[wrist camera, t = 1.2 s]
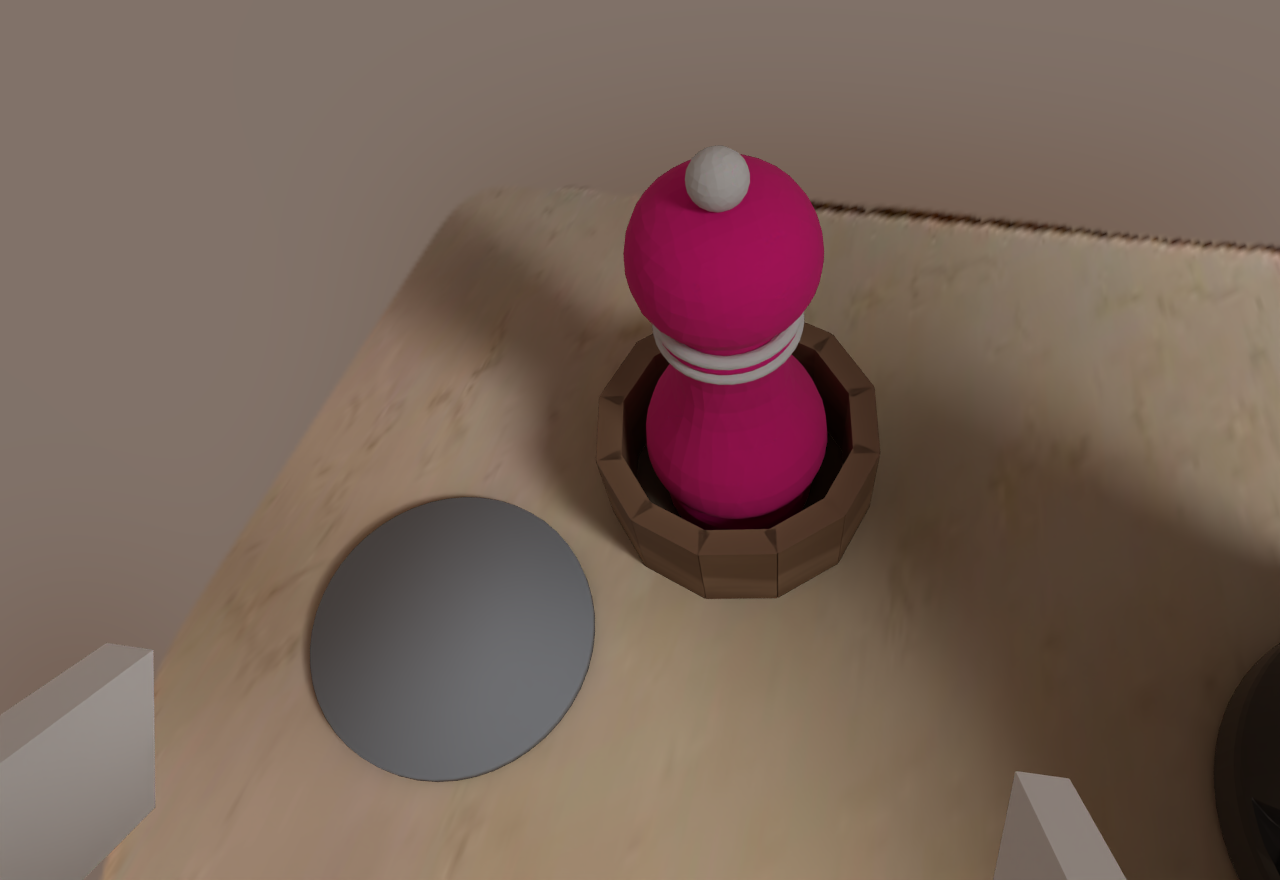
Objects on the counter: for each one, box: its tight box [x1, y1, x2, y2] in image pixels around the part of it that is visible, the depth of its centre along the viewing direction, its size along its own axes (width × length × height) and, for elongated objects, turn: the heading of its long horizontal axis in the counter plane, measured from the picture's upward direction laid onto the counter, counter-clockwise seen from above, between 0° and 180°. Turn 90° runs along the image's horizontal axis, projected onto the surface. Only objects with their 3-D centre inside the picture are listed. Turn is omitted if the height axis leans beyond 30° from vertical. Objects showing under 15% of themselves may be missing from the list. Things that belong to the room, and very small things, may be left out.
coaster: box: [310, 497, 595, 782], centre depth 43 cm, size 12×12×1 cm
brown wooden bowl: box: [596, 322, 880, 599], centre depth 42 cm, size 11×11×5 cm
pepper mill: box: [624, 146, 827, 530], centre depth 36 cm, size 7×7×20 cm
